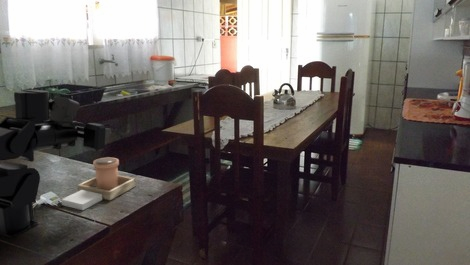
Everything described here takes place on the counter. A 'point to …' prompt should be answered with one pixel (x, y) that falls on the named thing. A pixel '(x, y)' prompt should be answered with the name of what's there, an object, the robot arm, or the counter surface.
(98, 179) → the terracotta pot
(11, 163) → the robot arm
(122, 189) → the beige square frame
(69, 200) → the stone tile
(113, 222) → the counter surface
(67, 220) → the counter surface
